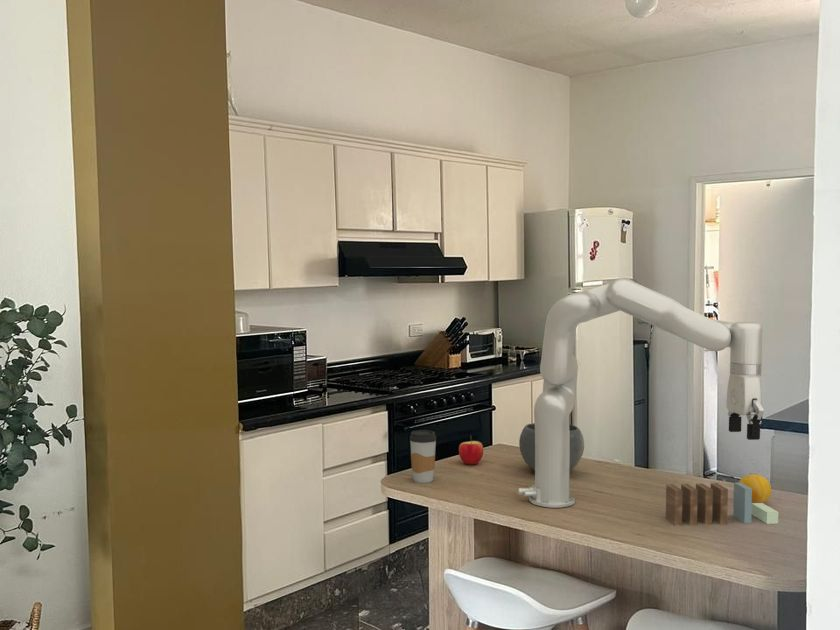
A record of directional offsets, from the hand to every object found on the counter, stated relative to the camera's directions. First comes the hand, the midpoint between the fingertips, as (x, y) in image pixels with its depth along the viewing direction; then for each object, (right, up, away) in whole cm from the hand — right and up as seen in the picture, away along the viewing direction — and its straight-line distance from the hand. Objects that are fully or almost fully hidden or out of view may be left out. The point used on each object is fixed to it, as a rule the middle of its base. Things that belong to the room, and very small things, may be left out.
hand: (743, 435), depth 207 cm
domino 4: (-6, -22, +1) cm, 23 cm away
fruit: (+9, -22, +16) cm, 28 cm away
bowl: (-42, -20, +50) cm, 68 cm away
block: (+6, -22, +2) cm, 23 cm away
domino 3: (-10, -22, 0) cm, 25 cm away
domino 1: (-18, -22, 0) cm, 29 cm away
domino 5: (0, -22, +1) cm, 22 cm away
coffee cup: (-83, -20, +40) cm, 94 cm away
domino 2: (-14, -22, 0) cm, 26 cm away
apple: (-67, -19, +62) cm, 93 cm away
